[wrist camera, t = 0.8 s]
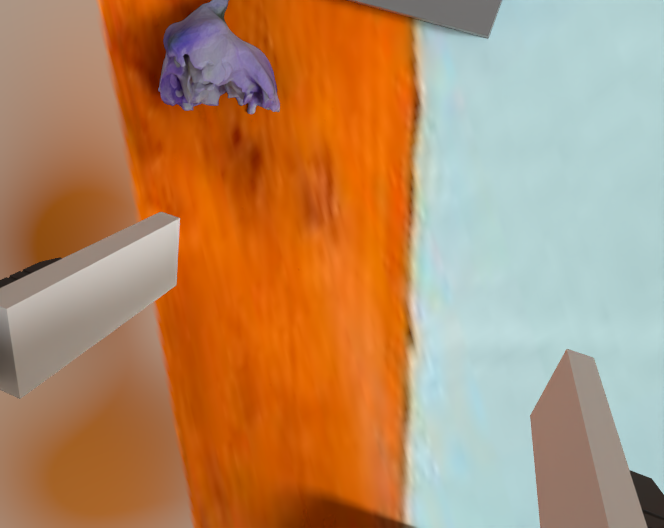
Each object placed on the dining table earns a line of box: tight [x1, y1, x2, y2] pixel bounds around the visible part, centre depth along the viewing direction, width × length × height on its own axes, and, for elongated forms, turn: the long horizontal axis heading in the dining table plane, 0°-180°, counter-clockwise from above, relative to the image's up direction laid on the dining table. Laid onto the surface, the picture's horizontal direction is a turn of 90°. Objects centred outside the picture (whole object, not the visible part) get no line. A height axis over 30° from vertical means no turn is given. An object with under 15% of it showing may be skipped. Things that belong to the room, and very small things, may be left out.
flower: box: [158, 0, 280, 114], centre depth 34 cm, size 9×9×10 cm
